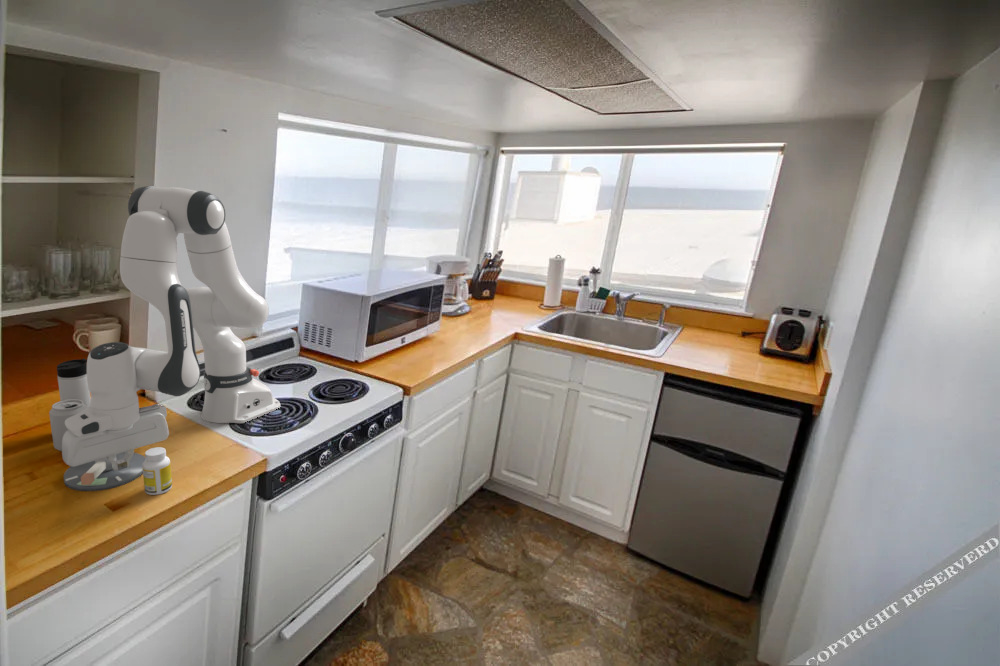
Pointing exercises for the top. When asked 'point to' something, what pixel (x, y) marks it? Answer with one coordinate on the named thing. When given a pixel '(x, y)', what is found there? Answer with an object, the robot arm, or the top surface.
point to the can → (63, 418)
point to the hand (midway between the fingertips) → (121, 468)
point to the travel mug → (73, 381)
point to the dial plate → (105, 475)
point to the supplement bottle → (156, 471)
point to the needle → (96, 470)
